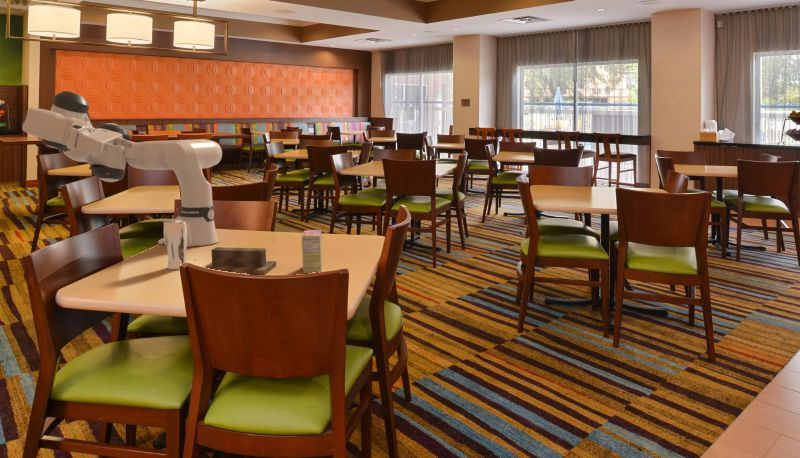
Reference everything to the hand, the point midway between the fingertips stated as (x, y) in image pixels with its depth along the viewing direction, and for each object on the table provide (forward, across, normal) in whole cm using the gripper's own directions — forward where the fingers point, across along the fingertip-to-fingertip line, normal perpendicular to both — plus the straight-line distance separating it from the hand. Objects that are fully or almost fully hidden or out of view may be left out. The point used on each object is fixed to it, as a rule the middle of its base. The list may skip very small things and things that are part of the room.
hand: (127, 148), depth 188 cm
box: (+64, +12, -18) cm, 68 cm away
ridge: (+42, +9, -26) cm, 50 cm away
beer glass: (+23, +5, -32) cm, 40 cm away
